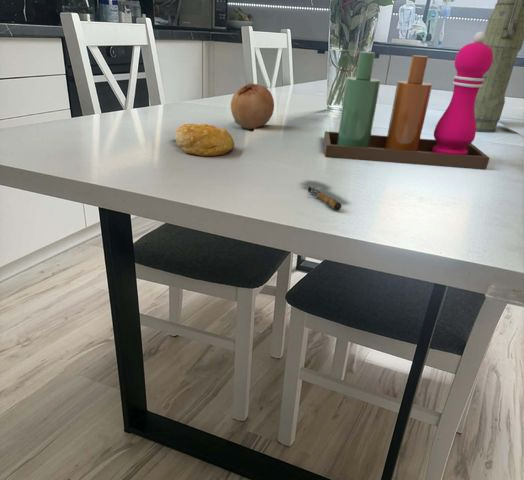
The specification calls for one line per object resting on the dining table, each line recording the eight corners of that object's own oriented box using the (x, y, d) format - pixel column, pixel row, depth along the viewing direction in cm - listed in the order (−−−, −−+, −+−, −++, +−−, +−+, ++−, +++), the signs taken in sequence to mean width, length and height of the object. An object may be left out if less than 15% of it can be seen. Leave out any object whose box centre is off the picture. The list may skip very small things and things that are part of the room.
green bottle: (366, 148, 93) (382, 52, 84) (369, 156, 89) (387, 54, 79) (335, 146, 94) (348, 50, 85) (337, 153, 89) (351, 52, 80)
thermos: (488, 125, 128) (539, -45, 107) (502, 134, 118) (561, -50, 98) (454, 122, 128) (499, -47, 108) (465, 131, 118) (516, -53, 98)
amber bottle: (413, 152, 93) (434, 56, 84) (418, 160, 88) (442, 58, 79) (382, 150, 93) (400, 53, 84) (385, 157, 88) (405, 56, 79)
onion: (247, 146, 106) (240, 103, 97) (227, 125, 110) (218, 82, 102) (284, 127, 107) (279, 84, 99) (263, 108, 112) (257, 64, 103)
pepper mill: (471, 165, 87) (509, 33, 76) (430, 161, 88) (462, 30, 76) (464, 156, 93) (499, 32, 82) (426, 152, 94) (455, 29, 82)
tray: (466, 156, 96) (470, 142, 94) (485, 173, 85) (489, 157, 84) (323, 145, 97) (324, 131, 95) (324, 160, 86) (326, 145, 85)
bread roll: (245, 154, 87) (246, 126, 84) (188, 159, 82) (187, 129, 79) (220, 142, 93) (220, 115, 91) (166, 146, 88) (165, 118, 86)
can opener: (341, 211, 64) (342, 202, 63) (325, 211, 63) (326, 203, 63) (317, 190, 71) (318, 182, 70) (302, 191, 70) (302, 183, 70)
